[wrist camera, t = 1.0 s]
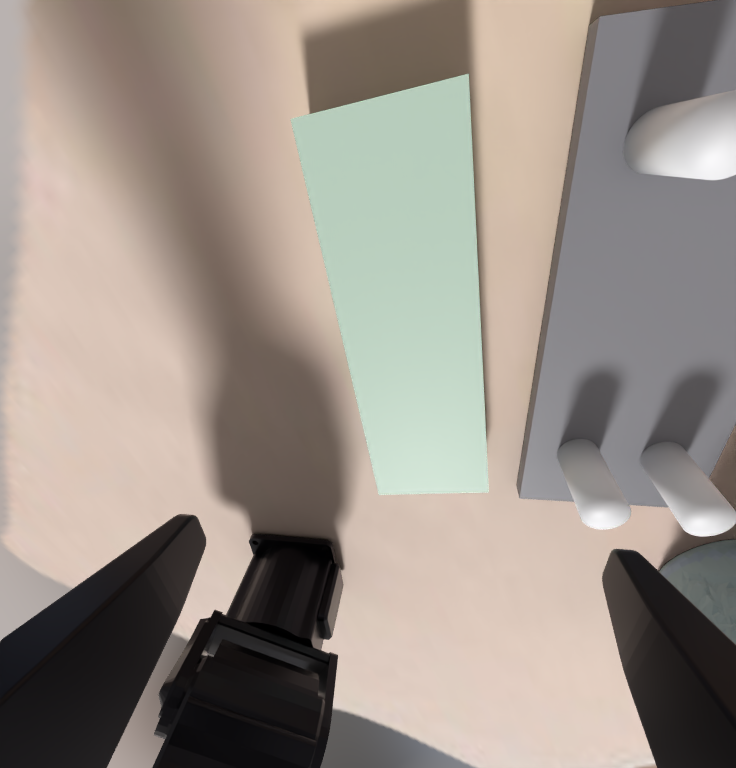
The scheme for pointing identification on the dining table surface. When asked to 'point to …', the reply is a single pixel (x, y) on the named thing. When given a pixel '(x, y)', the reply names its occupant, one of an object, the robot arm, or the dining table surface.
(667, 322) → the peg stand
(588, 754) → the dining table surface
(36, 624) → the robot arm
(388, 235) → the plank
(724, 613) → the teal cylinder
